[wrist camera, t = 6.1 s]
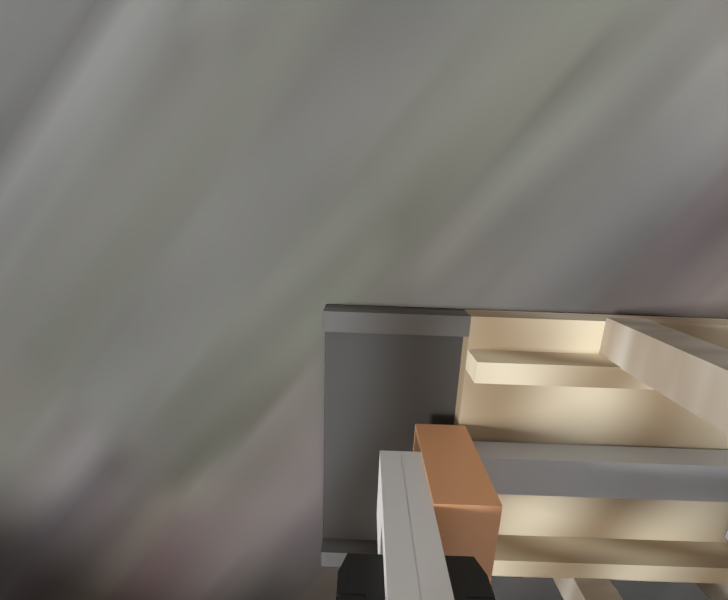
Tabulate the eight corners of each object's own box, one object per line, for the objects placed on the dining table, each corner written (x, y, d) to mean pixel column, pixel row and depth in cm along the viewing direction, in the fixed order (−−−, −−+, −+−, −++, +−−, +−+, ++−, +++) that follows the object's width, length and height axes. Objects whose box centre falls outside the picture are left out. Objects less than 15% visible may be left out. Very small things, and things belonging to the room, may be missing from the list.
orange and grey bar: (406, 526, 15) (420, 632, 11) (418, 377, 14) (439, 443, 10) (885, 542, 15) (1060, 654, 12) (955, 396, 14) (1189, 469, 10)
